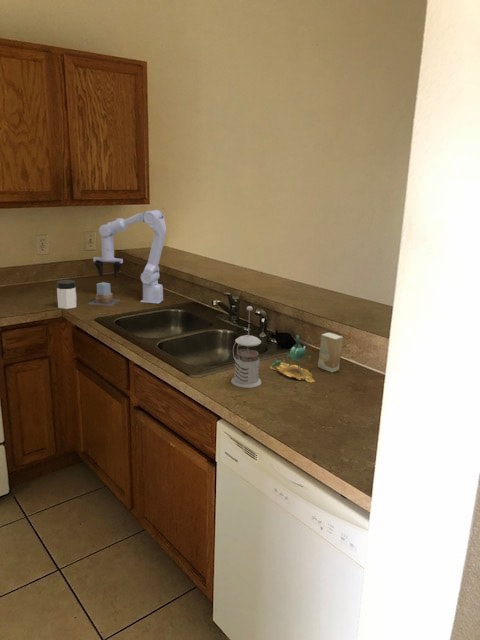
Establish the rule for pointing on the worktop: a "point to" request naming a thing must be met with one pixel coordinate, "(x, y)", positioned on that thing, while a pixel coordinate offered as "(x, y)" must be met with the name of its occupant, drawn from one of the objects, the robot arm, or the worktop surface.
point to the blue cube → (103, 288)
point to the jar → (66, 294)
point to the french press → (246, 361)
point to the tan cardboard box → (104, 301)
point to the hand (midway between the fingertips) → (108, 276)
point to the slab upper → (104, 296)
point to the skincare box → (330, 352)
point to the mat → (104, 304)
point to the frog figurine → (294, 370)
